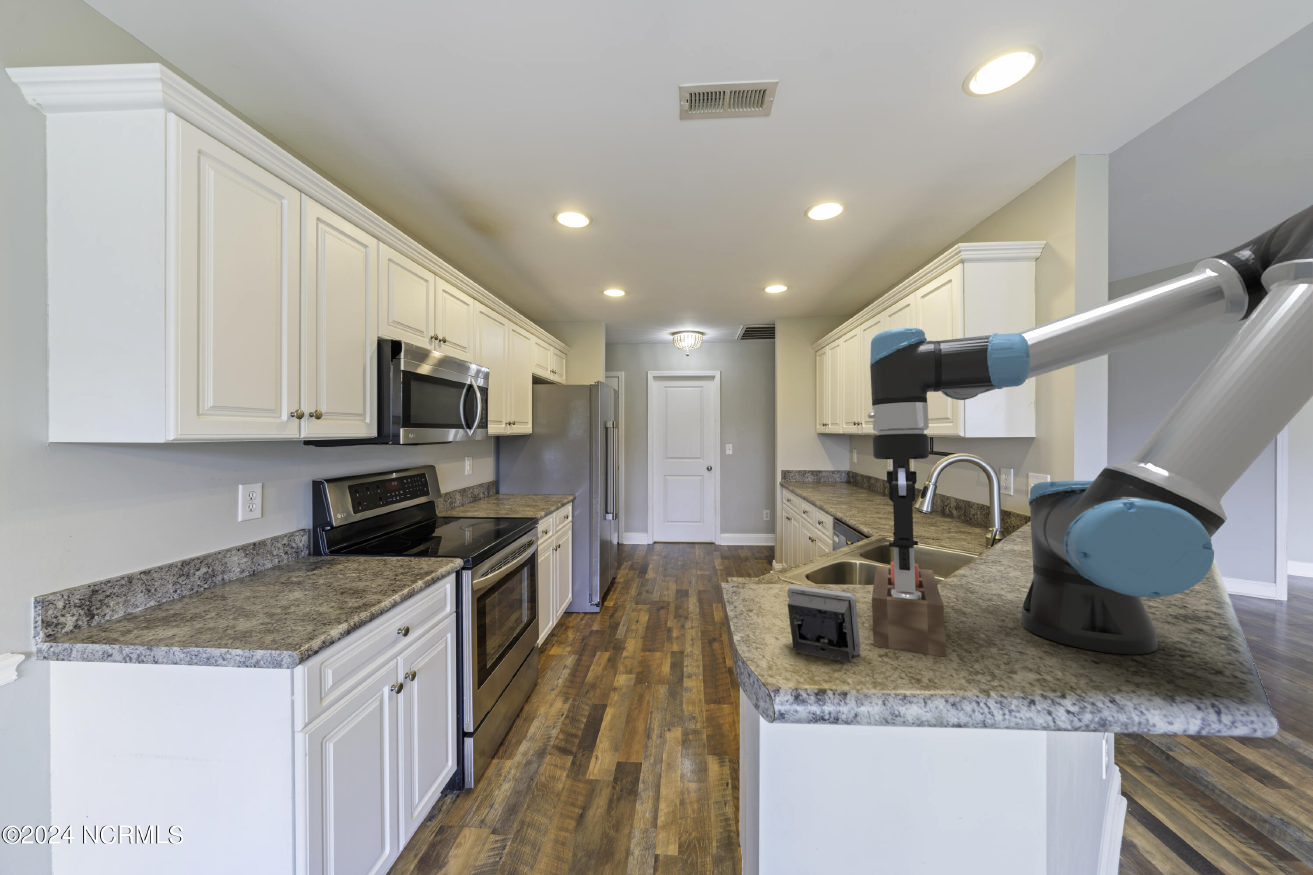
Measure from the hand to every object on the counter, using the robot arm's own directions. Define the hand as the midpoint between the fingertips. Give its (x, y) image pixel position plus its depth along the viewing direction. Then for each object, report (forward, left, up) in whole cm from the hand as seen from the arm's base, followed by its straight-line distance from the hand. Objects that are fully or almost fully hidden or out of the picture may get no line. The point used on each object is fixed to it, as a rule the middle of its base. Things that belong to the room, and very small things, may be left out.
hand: (905, 589), depth 70 cm
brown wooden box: (+4, -5, -8) cm, 10 cm away
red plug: (+4, -5, -4) cm, 7 cm away
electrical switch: (0, +14, -8) cm, 16 cm away
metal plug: (0, 0, -6) cm, 6 cm away
